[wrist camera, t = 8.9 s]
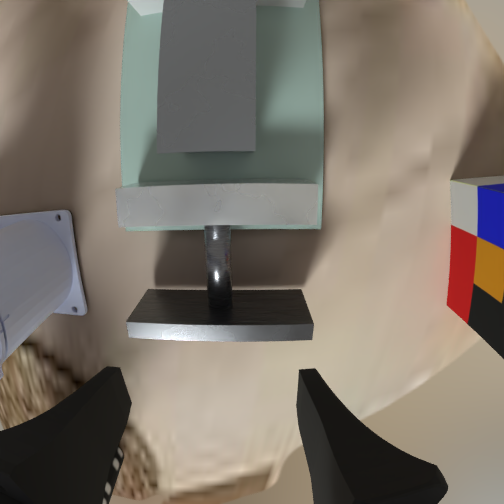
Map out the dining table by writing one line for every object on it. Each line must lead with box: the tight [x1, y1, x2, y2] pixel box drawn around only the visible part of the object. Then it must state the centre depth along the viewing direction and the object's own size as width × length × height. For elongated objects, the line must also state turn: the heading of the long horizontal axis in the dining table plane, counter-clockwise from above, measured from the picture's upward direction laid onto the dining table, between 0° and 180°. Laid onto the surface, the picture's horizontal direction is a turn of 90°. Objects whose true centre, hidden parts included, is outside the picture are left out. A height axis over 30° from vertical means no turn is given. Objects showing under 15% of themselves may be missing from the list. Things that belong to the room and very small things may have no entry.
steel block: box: [157, 0, 256, 154], centre depth 13 cm, size 4×8×6 cm, turn 0°
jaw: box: [116, 179, 318, 342], centre depth 17 cm, size 10×8×4 cm
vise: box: [120, 0, 324, 231], centre depth 15 cm, size 12×18×4 cm, turn 0°
